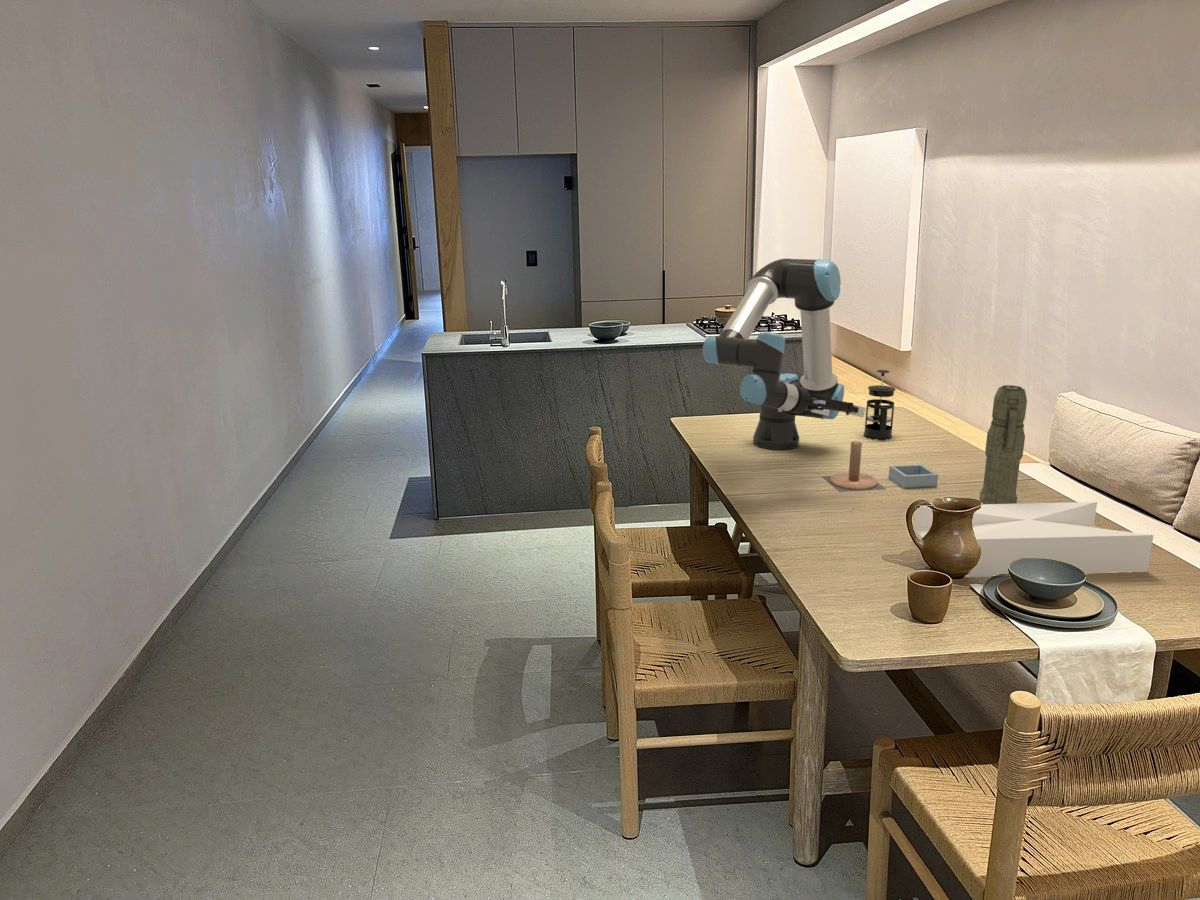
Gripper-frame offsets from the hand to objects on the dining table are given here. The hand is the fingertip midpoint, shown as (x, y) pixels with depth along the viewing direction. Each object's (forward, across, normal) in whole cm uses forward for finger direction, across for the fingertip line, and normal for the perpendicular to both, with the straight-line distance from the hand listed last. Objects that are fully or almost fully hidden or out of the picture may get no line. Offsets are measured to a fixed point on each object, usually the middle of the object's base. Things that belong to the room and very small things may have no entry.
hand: (845, 411), depth 263 cm
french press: (+48, -32, -1) cm, 58 cm away
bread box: (+7, +58, -32) cm, 66 cm away
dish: (+22, +8, -17) cm, 29 cm away
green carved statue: (+20, +39, -24) cm, 50 cm away
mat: (+8, 0, -20) cm, 21 cm away
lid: (+8, 0, -19) cm, 21 cm away
